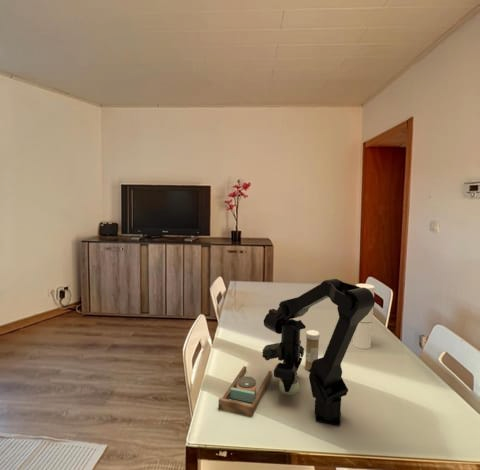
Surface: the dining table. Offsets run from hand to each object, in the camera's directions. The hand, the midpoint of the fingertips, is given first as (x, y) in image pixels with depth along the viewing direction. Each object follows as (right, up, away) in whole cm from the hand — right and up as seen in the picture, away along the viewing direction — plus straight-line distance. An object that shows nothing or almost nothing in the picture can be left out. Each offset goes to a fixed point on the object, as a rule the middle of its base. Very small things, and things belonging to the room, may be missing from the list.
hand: (288, 386), depth 111 cm
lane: (-13, -1, -1) cm, 13 cm away
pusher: (-15, -1, -6) cm, 16 cm away
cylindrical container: (+35, +2, +34) cm, 48 cm away
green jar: (0, -1, 0) cm, 1 cm away
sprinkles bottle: (+10, 0, +14) cm, 17 cm away
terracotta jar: (-13, -1, -2) cm, 14 cm away
